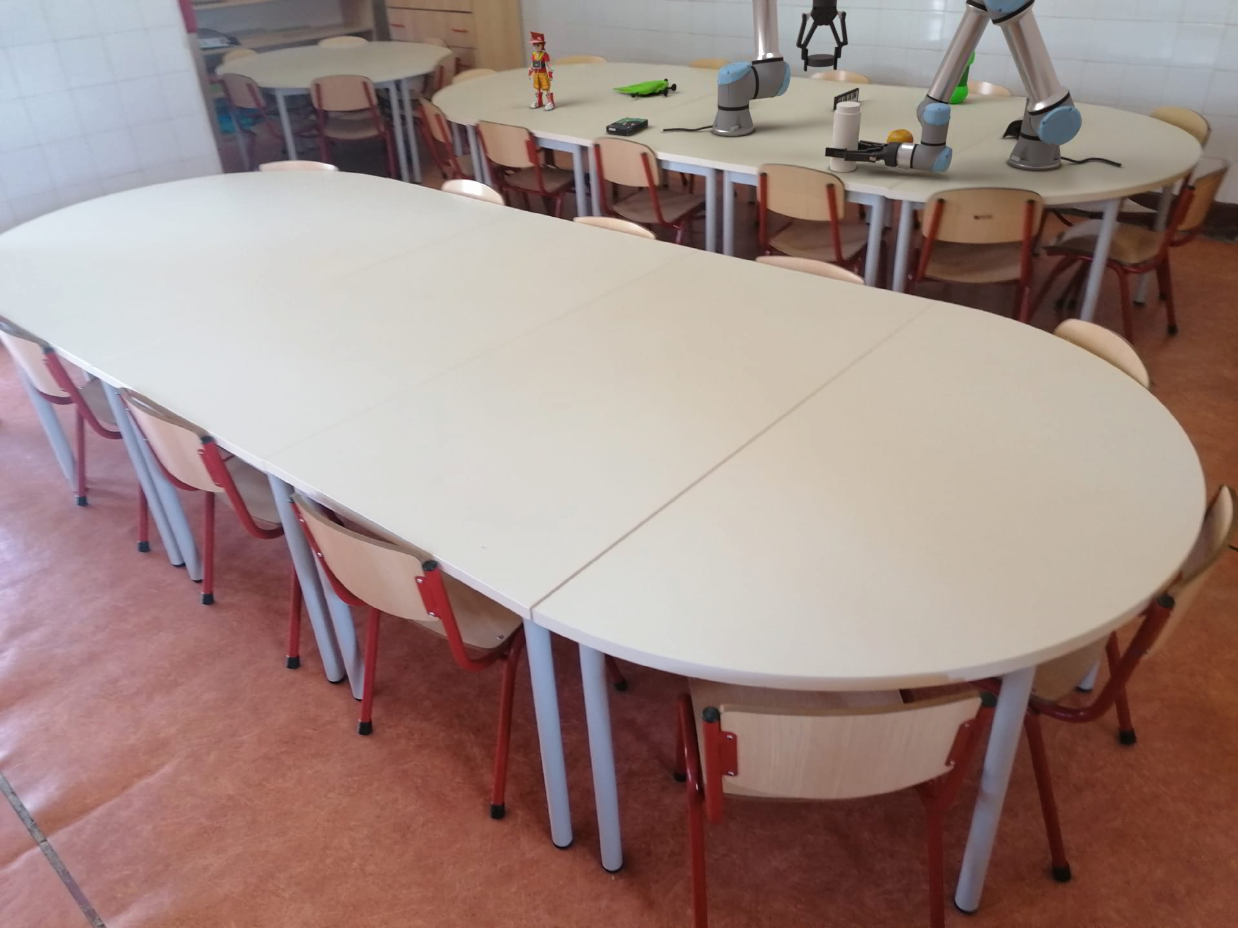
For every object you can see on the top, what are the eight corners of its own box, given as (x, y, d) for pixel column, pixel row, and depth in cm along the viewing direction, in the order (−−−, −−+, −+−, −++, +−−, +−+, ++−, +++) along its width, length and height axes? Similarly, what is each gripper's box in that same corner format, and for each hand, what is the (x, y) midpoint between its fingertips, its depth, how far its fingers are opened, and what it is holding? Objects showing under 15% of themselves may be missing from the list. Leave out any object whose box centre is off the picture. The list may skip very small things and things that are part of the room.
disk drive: (628, 136, 338) (648, 126, 348) (628, 129, 337) (648, 118, 347) (605, 134, 343) (625, 123, 353) (605, 126, 341) (625, 116, 351)
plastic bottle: (973, 101, 354) (984, 32, 339) (955, 106, 349) (966, 36, 335) (952, 97, 361) (962, 29, 346) (934, 102, 356) (944, 33, 342)
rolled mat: (1032, 109, 328) (1056, 91, 320) (1046, 130, 329) (1070, 113, 320) (998, 131, 311) (1023, 113, 303) (1012, 153, 311) (1038, 136, 303)
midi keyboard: (835, 110, 353) (837, 97, 350) (833, 110, 354) (834, 97, 351) (858, 101, 363) (859, 88, 361) (855, 101, 364) (856, 88, 361)
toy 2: (686, 85, 398) (631, 84, 414) (685, 72, 395) (629, 72, 411) (651, 104, 381) (596, 103, 397) (650, 92, 378) (594, 91, 394)
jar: (832, 163, 298) (837, 100, 286) (857, 165, 295) (863, 101, 284) (828, 171, 292) (833, 107, 280) (853, 172, 289) (860, 108, 278)
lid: (817, 68, 287) (818, 60, 285) (800, 64, 293) (801, 56, 292) (840, 64, 290) (840, 57, 289) (822, 60, 297) (823, 53, 295)
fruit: (881, 143, 301) (896, 121, 298) (883, 146, 309) (897, 125, 306) (901, 157, 300) (917, 135, 297) (903, 159, 308) (918, 138, 305)
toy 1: (525, 109, 381) (517, 32, 364) (534, 104, 388) (527, 28, 371) (550, 110, 377) (543, 32, 360) (559, 105, 384) (553, 28, 367)
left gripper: (792, -4, 277) (788, 74, 290) (862, -8, 276) (855, 70, 289) (789, -7, 284) (785, 69, 296) (858, -11, 282) (851, 66, 295)
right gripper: (888, 176, 277) (818, 169, 287) (907, 158, 291) (840, 151, 301) (891, 152, 273) (819, 145, 283) (910, 134, 287) (842, 128, 297)
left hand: (820, 70), depth 293 cm, fingers closed on lid, 9 cm apart
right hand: (830, 148), depth 292 cm, fingers closed on jar, 8 cm apart
